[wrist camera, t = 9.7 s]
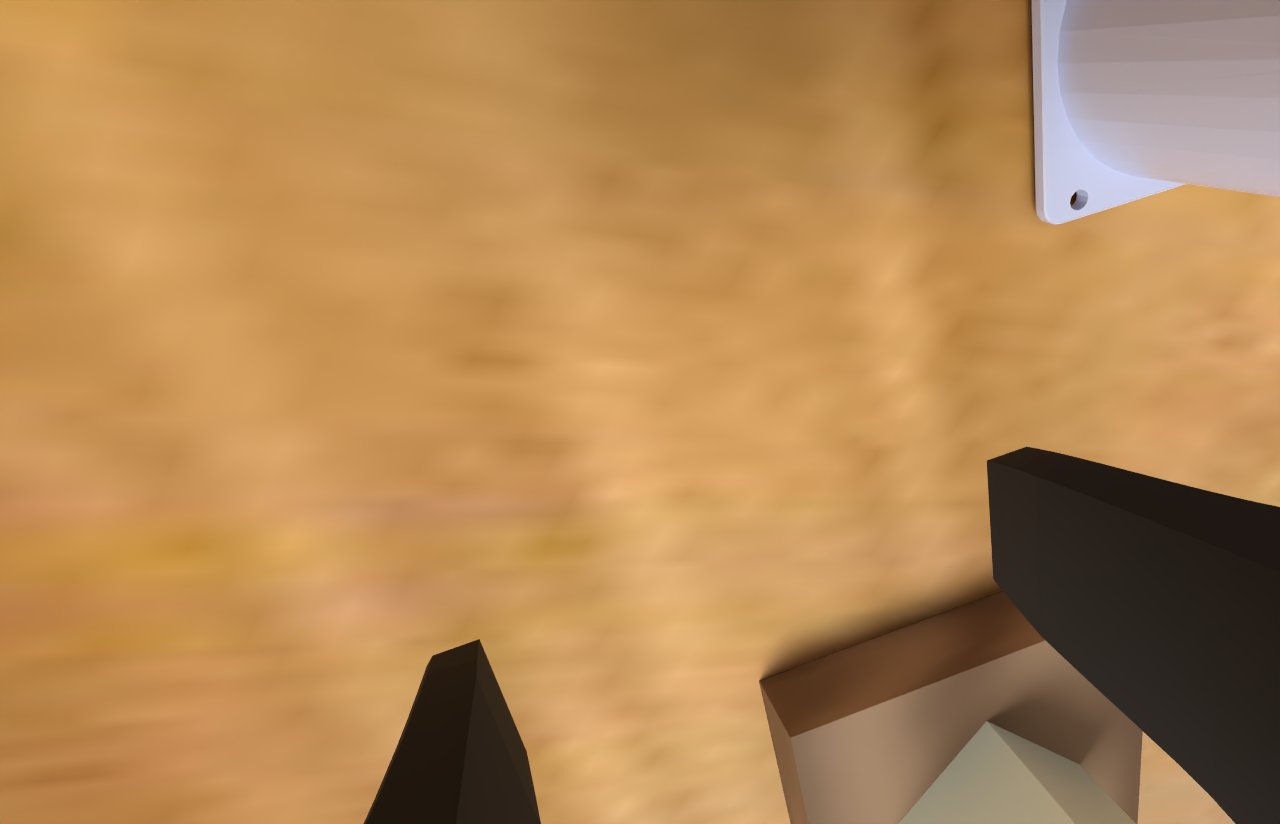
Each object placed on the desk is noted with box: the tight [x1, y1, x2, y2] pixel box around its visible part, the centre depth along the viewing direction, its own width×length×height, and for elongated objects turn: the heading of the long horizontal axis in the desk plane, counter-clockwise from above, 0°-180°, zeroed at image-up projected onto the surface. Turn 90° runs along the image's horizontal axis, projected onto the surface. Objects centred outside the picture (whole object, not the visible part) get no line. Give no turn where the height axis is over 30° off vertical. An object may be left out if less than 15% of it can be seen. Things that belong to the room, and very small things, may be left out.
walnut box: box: [759, 591, 1142, 824], centre depth 28 cm, size 12×12×3 cm
